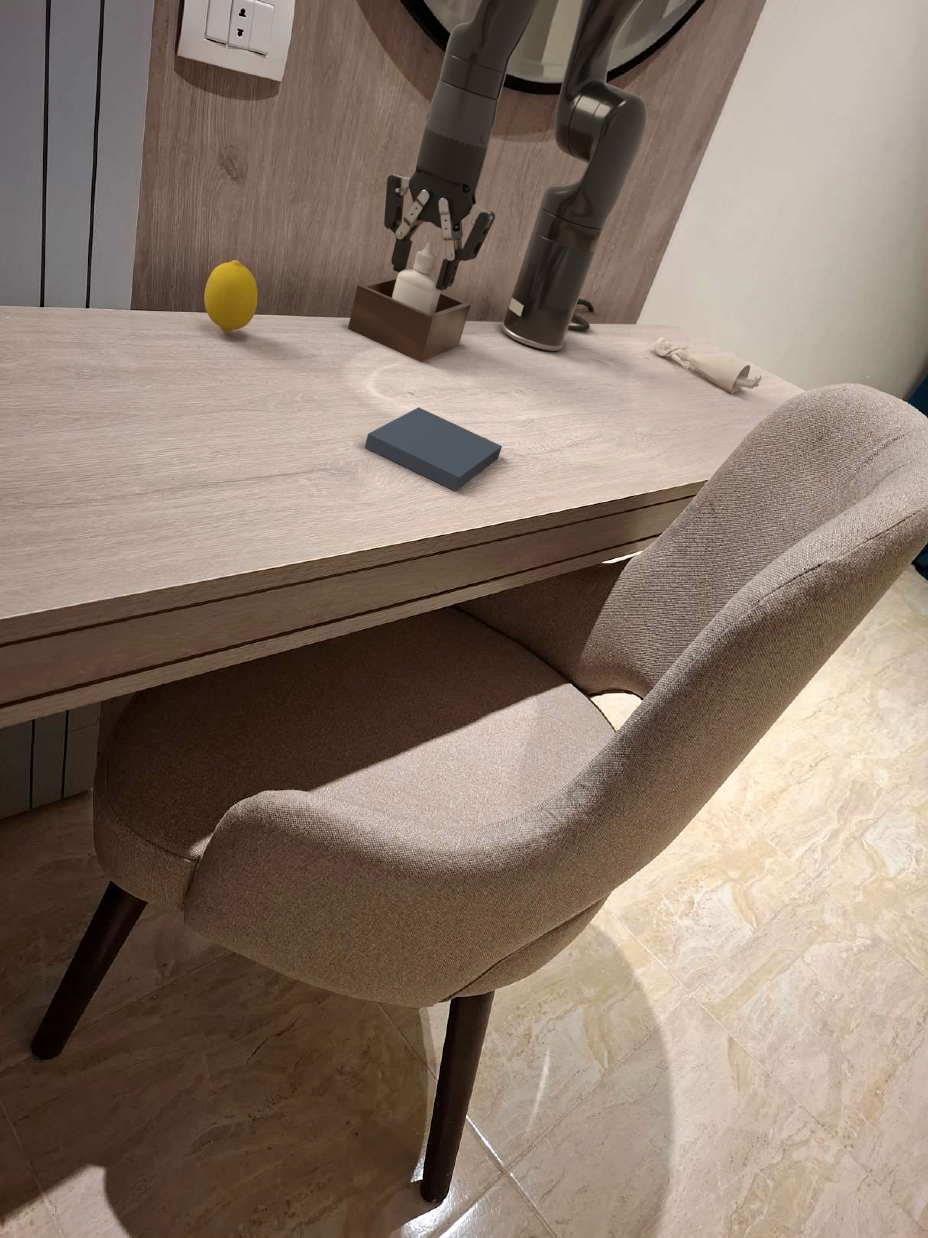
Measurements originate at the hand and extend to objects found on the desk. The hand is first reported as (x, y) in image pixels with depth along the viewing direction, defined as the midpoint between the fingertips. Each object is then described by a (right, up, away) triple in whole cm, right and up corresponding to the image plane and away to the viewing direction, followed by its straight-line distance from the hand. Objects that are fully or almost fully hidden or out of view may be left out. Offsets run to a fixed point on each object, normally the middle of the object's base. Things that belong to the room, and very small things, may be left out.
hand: (419, 279), depth 113 cm
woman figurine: (+43, -4, +31) cm, 53 cm away
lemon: (-21, -11, -12) cm, 27 cm away
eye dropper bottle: (-2, -6, +4) cm, 8 cm away
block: (+3, -26, -22) cm, 34 cm away
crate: (-2, -6, +4) cm, 7 cm away
